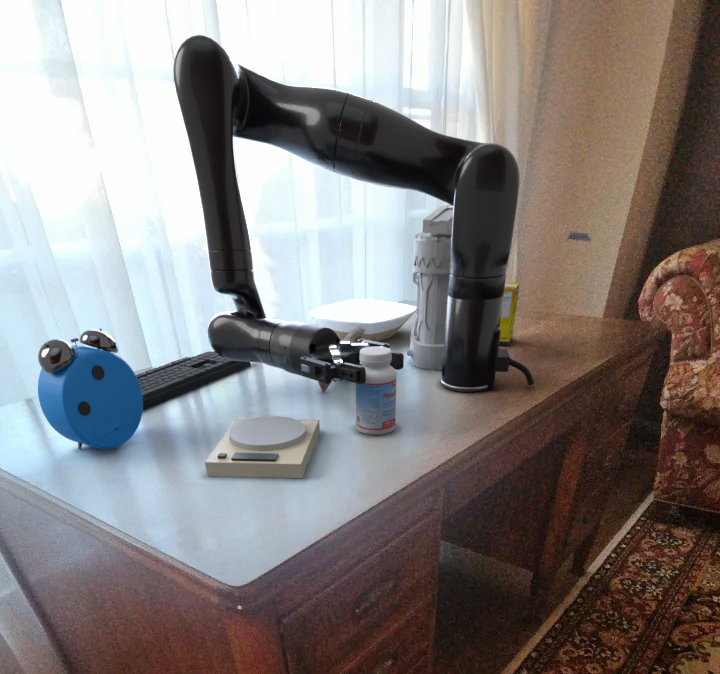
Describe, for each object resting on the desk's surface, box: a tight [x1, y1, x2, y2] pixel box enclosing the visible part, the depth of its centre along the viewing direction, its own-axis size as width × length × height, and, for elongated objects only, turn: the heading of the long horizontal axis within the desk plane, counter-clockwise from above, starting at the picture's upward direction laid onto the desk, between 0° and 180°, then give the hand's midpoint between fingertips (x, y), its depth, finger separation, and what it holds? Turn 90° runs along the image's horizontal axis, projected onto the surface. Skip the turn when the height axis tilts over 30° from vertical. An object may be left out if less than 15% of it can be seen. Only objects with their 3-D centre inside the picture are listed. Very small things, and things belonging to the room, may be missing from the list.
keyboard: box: [135, 350, 252, 411], centre depth 106 cm, size 35×11×2 cm, turn 149°
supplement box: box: [499, 282, 521, 346], centre depth 122 cm, size 6×6×11 cm
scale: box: [204, 415, 321, 479], centre depth 82 cm, size 13×16×3 cm
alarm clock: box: [37, 328, 144, 450], centre depth 81 cm, size 13×6×15 cm, turn 148°
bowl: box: [307, 298, 417, 342], centre depth 130 cm, size 22×22×5 cm
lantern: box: [406, 203, 454, 371], centre depth 108 cm, size 13×10×25 cm
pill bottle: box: [354, 346, 397, 436], centre depth 85 cm, size 6×6×11 cm
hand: (383, 368), depth 82 cm, fingers open, 8 cm apart
